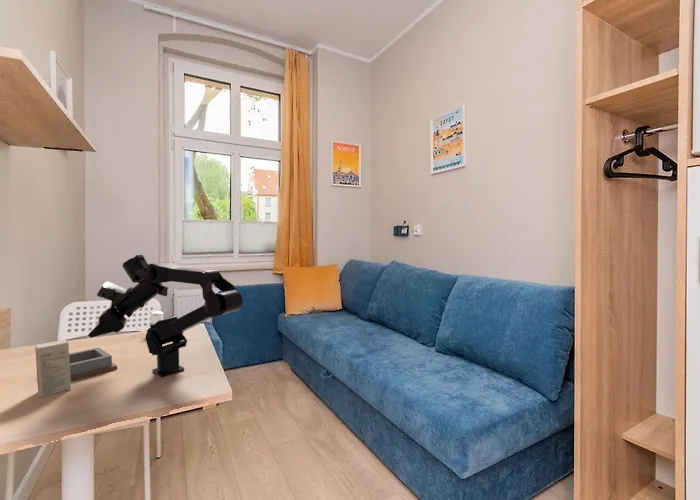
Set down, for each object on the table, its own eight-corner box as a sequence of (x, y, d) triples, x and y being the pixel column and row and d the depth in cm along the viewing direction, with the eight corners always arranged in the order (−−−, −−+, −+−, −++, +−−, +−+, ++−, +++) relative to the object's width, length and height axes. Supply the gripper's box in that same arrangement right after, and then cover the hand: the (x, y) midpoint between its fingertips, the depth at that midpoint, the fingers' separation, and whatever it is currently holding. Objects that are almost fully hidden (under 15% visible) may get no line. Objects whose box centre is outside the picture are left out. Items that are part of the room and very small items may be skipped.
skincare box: (68, 384, 91) (67, 338, 90) (71, 389, 88) (70, 342, 87) (36, 392, 86) (34, 344, 85) (37, 397, 83) (36, 348, 82)
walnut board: (117, 369, 101) (117, 365, 101) (55, 384, 90) (55, 381, 90) (101, 358, 110) (101, 355, 110) (44, 371, 99) (43, 368, 99)
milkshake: (163, 335, 135) (163, 310, 135) (148, 335, 134) (148, 310, 134) (167, 332, 140) (167, 307, 139) (153, 332, 139) (153, 308, 138)
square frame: (111, 365, 101) (111, 355, 101) (59, 379, 91) (58, 367, 91) (99, 356, 108) (98, 347, 108) (49, 367, 99) (48, 357, 99)
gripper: (126, 265, 106) (82, 298, 104) (110, 284, 89) (56, 324, 87) (153, 291, 111) (111, 322, 108) (143, 313, 94) (93, 351, 91)
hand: (94, 329), depth 99 cm, fingers open, 9 cm apart
